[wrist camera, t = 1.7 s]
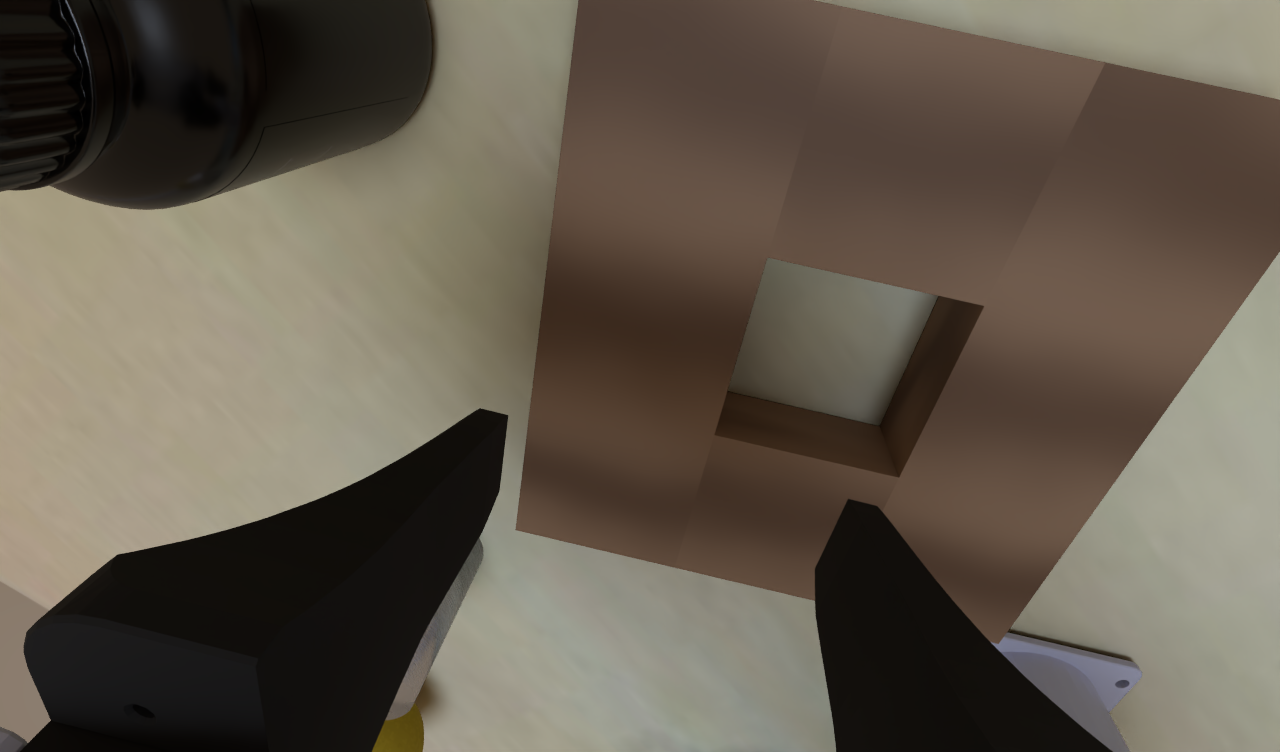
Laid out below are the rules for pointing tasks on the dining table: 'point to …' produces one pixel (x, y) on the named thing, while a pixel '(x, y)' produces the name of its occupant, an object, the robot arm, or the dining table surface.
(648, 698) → the dining table surface
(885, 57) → the dock block
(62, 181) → the supplement bottle
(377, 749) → the lemon
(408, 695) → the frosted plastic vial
